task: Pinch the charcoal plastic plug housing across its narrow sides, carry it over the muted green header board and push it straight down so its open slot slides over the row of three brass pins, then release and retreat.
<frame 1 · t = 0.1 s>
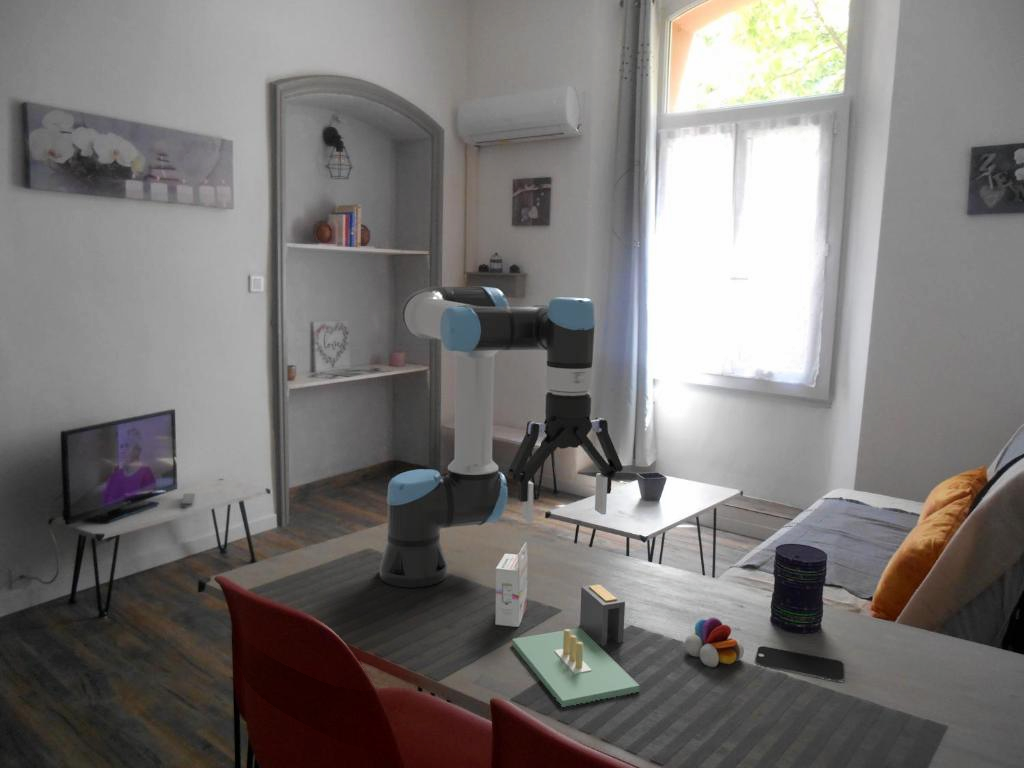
hand: (564, 516, 132), 28 cm above the table, fingers open, 13 cm apart
ink cartridge box: (510, 618, 157), on the table
rainbow wheeled toy: (713, 658, 142), on the table
plug housing: (601, 633, 151), on the table
header board: (572, 667, 137), on the table
storage jar: (795, 624, 157), on the table
smartphone: (799, 666, 141), on the table
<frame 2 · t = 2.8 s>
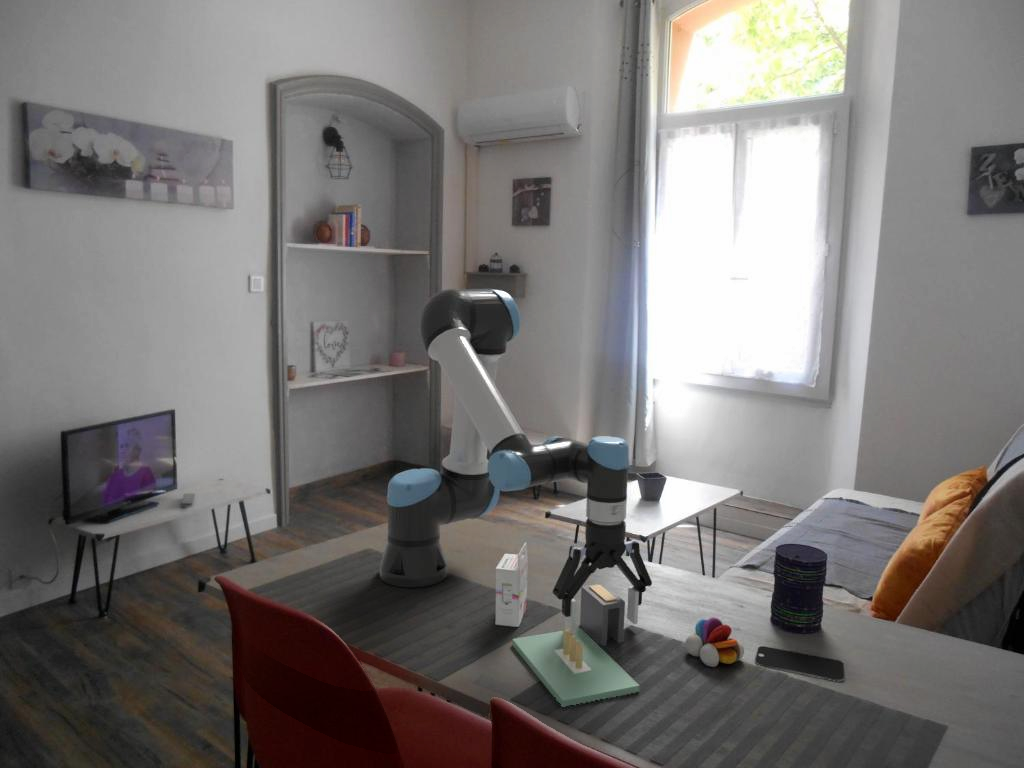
hand: (601, 626, 150), 1 cm above the table, fingers open, 13 cm apart
nothing on the table moved.
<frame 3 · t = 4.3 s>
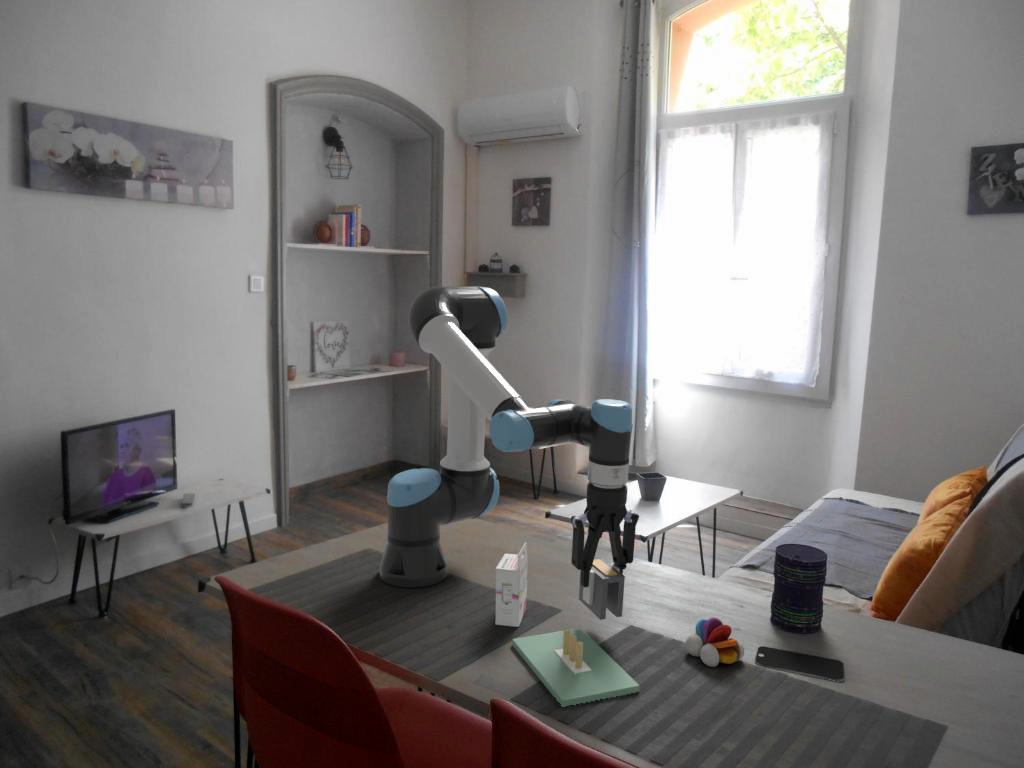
hand: (600, 599, 150), 7 cm above the table, fingers closed on plug housing, 5 cm apart
plug housing: (599, 607, 150), point 5 cm above the table, touching gripper
everything else where it was.
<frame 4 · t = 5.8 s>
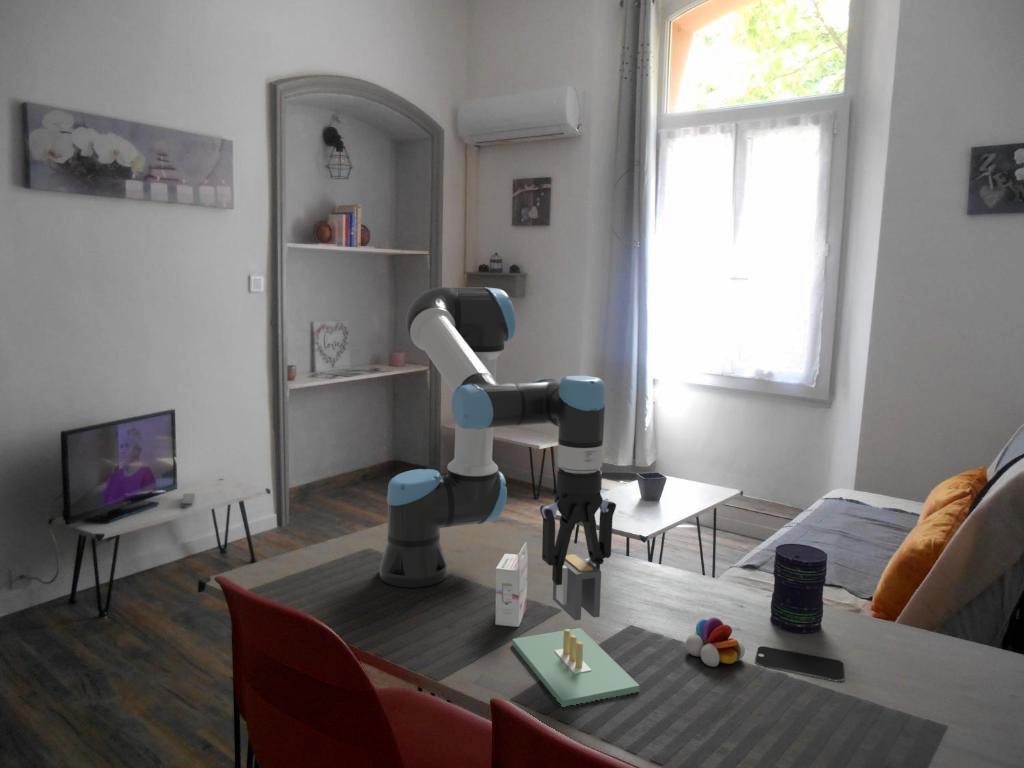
hand: (575, 598, 135), 13 cm above the table, fingers closed on plug housing, 5 cm apart
plug housing: (575, 607, 135), point 11 cm above the table, touching gripper
everything else where it was.
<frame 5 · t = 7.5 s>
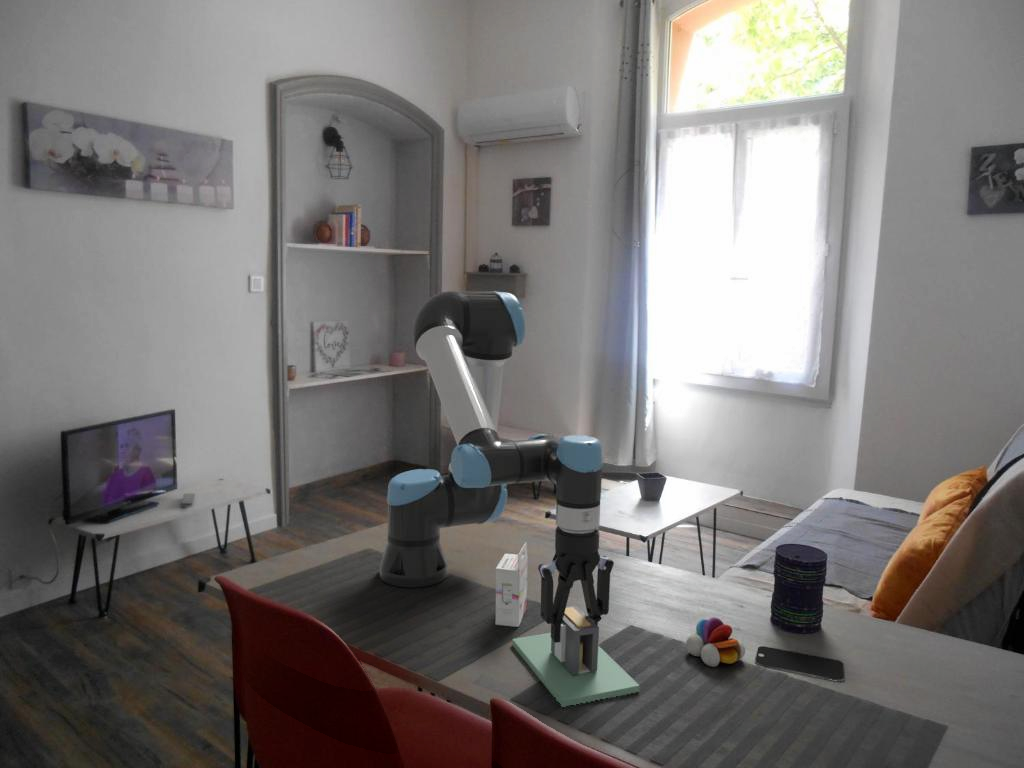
hand: (573, 655, 137), 2 cm above the table, fingers closed on plug housing, 5 cm apart
plug housing: (573, 660, 137), point 1 cm above the table, touching gripper, header board
everything else where it was.
when the fingers open (2 cm above the table, at t = 7.6 s): plug housing stays where it is, resting on header board.
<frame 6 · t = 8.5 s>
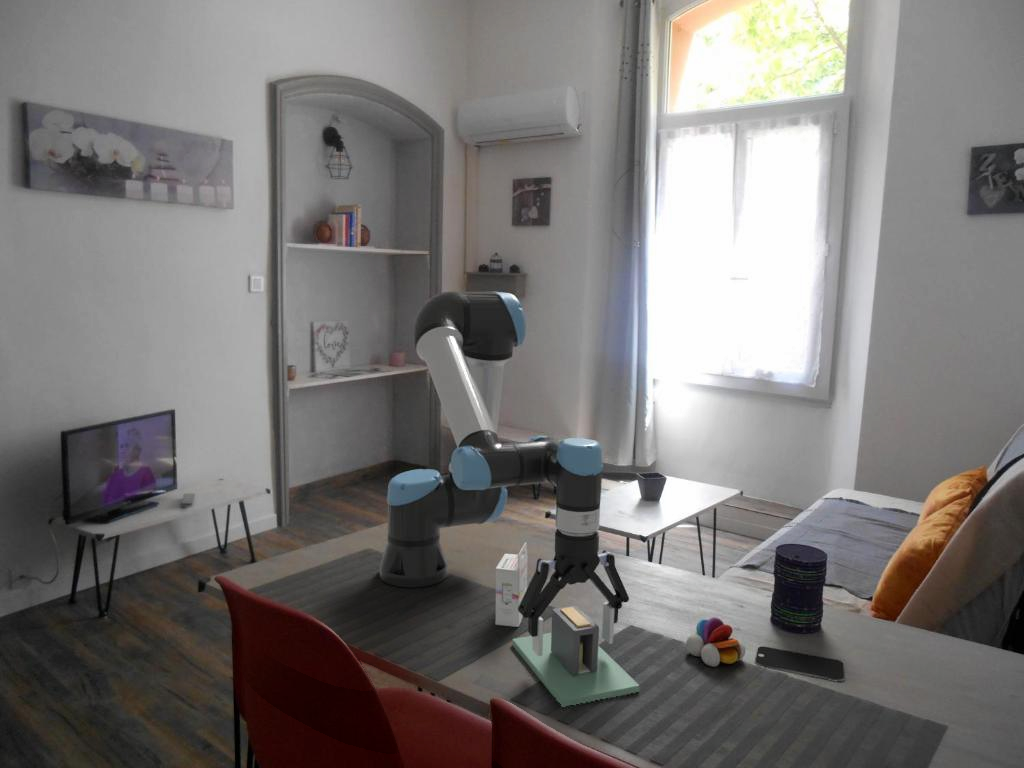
hand: (572, 646, 137), 4 cm above the table, fingers open, 13 cm apart
plug housing: (573, 660, 137), point 1 cm above the table, touching header board
everything else where it was.
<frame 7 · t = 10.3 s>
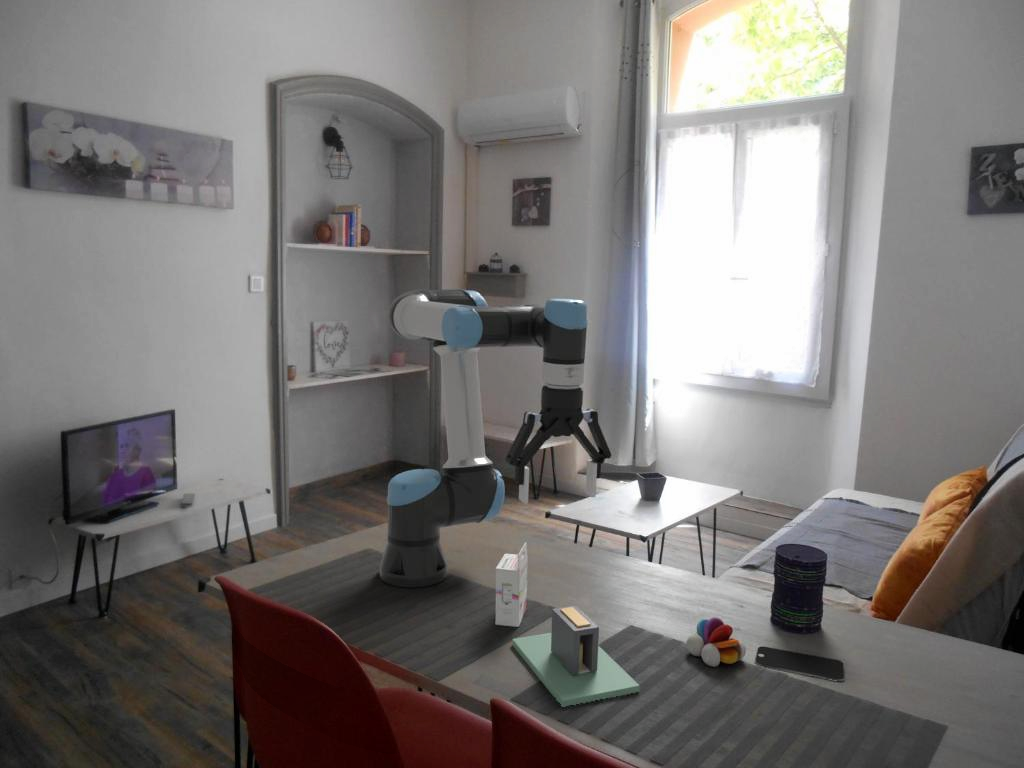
hand: (557, 498, 145), 27 cm above the table, fingers open, 13 cm apart
nothing on the table moved.
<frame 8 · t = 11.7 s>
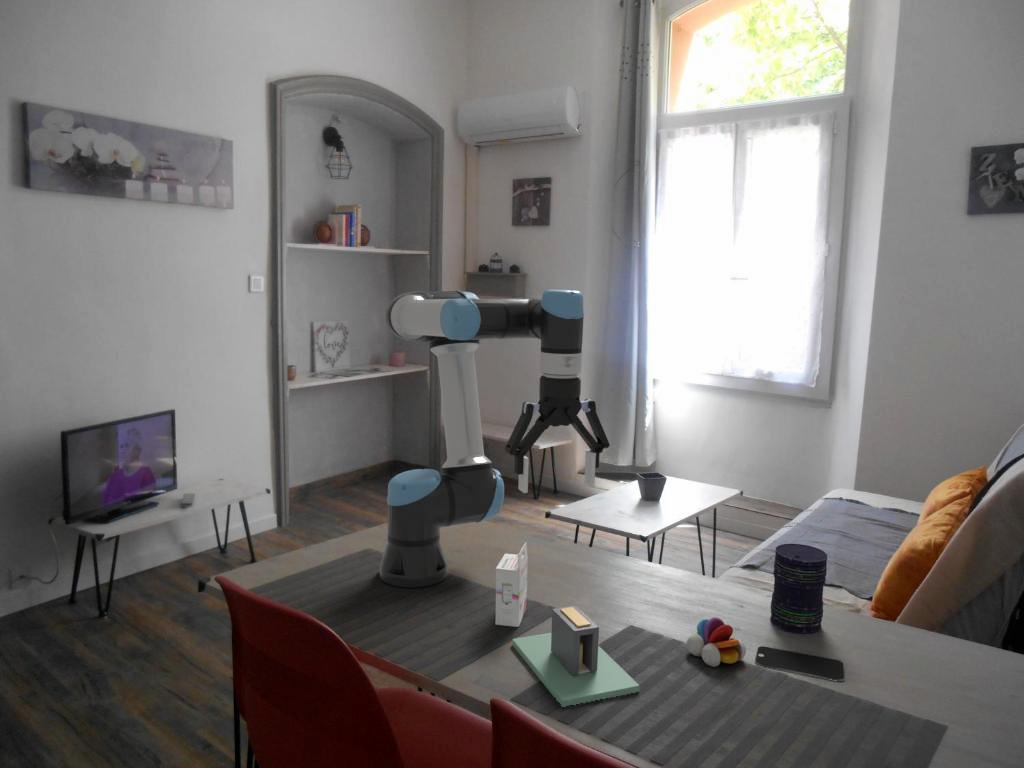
hand: (556, 488, 146), 29 cm above the table, fingers open, 13 cm apart
nothing on the table moved.
at the end: plug housing 0.4 cm off-centre on the header board, point 1.4 cm above the header board's base; plug housing tilted 0°; the gripper is holding nothing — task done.
